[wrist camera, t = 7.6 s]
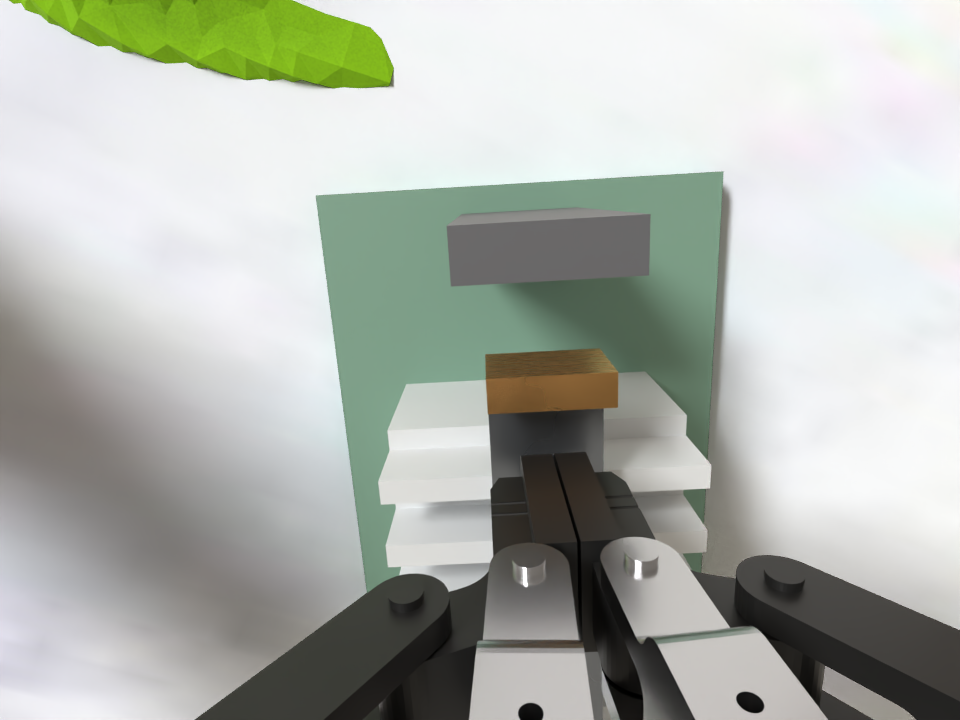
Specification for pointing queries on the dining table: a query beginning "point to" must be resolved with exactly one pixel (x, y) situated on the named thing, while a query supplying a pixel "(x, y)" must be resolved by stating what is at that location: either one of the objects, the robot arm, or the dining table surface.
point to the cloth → (231, 37)
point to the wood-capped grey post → (550, 421)
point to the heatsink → (518, 347)
